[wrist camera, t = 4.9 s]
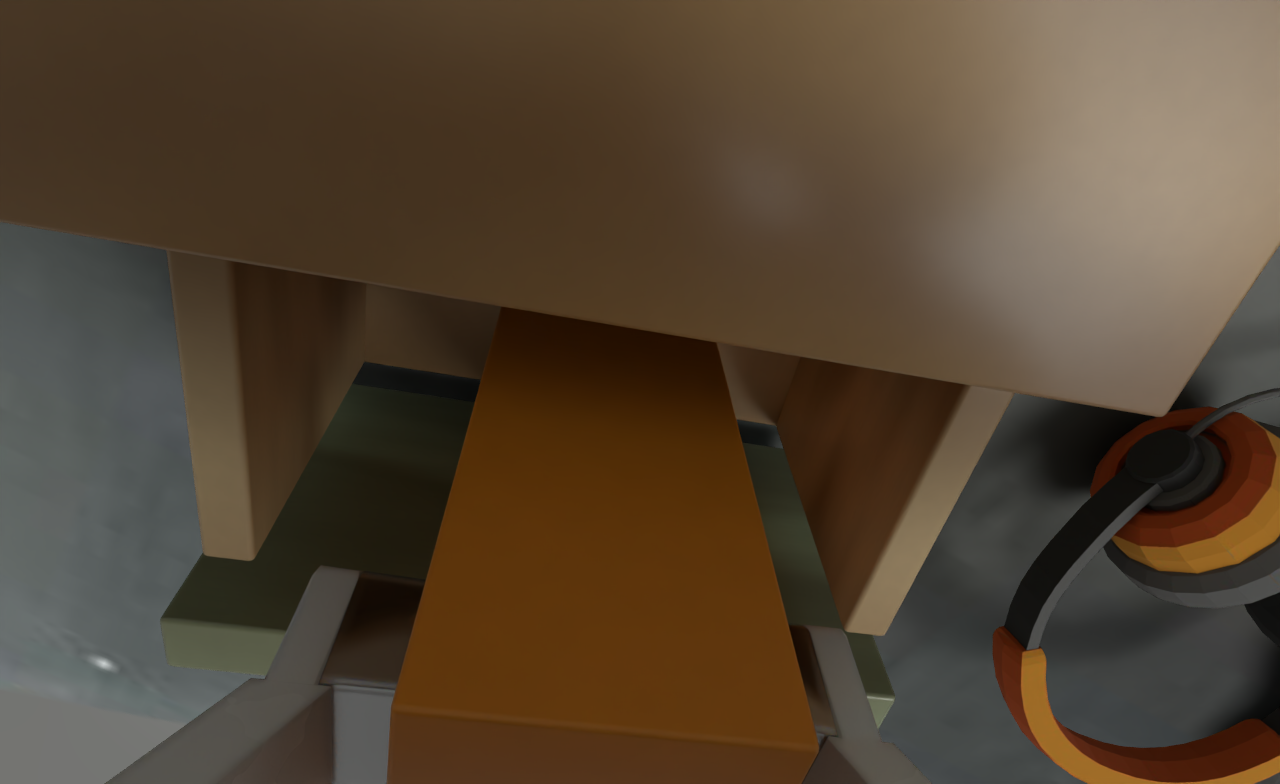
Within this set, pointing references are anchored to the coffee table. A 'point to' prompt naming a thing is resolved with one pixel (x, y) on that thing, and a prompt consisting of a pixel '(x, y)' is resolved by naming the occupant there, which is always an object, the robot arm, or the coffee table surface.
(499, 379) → the orange box
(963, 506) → the coffee table surface
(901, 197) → the cabinet
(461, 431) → the drawer
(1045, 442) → the coffee table surface
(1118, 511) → the headphones
